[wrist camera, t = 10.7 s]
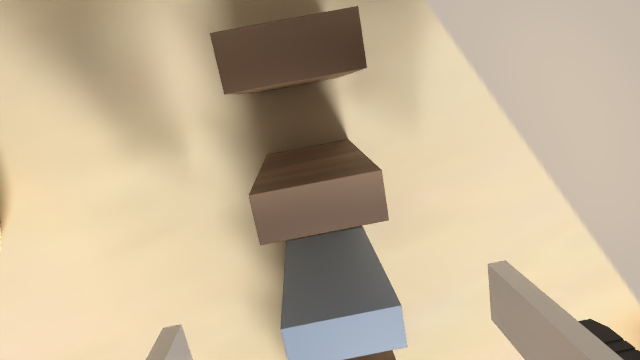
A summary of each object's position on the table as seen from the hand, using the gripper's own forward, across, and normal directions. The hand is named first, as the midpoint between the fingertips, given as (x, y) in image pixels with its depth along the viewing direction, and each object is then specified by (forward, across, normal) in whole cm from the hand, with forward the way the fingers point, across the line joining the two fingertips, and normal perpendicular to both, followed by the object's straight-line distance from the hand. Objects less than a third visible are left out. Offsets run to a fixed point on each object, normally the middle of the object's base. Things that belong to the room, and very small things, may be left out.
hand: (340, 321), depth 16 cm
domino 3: (+8, 0, +1) cm, 9 cm away
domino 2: (+9, 0, -5) cm, 10 cm away
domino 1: (+9, 0, -11) cm, 14 cm away
